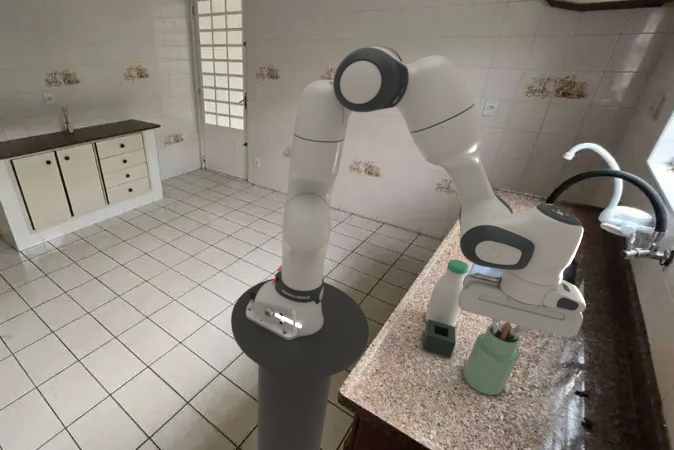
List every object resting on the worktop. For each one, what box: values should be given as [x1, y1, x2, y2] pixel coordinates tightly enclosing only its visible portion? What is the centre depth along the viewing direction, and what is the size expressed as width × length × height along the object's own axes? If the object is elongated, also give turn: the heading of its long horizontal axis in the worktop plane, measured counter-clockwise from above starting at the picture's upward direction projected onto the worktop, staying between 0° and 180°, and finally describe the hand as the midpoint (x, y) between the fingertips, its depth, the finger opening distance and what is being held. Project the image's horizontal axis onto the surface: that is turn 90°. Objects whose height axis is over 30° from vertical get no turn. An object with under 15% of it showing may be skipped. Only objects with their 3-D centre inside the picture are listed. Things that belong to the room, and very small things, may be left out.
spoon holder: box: [422, 319, 456, 358], centre depth 91 cm, size 6×6×5 cm
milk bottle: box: [424, 259, 469, 328], centre depth 95 cm, size 8×8×20 cm
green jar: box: [463, 323, 521, 396], centre depth 79 cm, size 8×8×15 cm
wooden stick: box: [498, 322, 513, 341], centre depth 78 cm, size 1×2×17 cm, turn 154°
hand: (503, 335), depth 76 cm, fingers closed on wooden stick, 1 cm apart
